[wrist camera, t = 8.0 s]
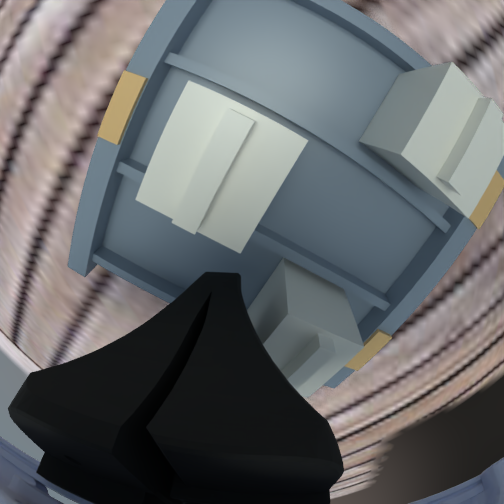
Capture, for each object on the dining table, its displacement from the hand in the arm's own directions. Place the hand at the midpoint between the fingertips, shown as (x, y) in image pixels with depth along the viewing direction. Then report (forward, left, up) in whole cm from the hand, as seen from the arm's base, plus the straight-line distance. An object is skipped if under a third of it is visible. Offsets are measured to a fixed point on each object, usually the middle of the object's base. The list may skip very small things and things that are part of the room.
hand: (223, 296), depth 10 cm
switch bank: (-1, -4, -3) cm, 5 cm away
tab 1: (+2, -4, -2) cm, 5 cm away
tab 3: (-3, -8, -2) cm, 9 cm away
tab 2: (-3, 0, -2) cm, 4 cm away
